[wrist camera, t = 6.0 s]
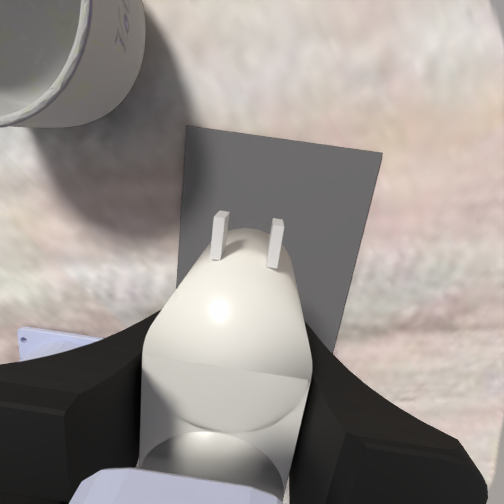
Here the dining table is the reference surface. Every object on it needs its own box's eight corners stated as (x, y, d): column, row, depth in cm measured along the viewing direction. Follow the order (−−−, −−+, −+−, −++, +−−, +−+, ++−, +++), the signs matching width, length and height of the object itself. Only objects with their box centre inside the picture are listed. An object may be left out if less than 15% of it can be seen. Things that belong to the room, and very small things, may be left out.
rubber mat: (327, 369, 23) (327, 372, 23) (173, 346, 24) (172, 348, 23) (381, 152, 19) (382, 153, 18) (187, 126, 19) (186, 125, 18)
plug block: (270, 394, 15) (271, 548, 9) (189, 382, 15) (137, 526, 9) (306, 208, 12) (339, 255, 6) (205, 194, 12) (146, 227, 6)
